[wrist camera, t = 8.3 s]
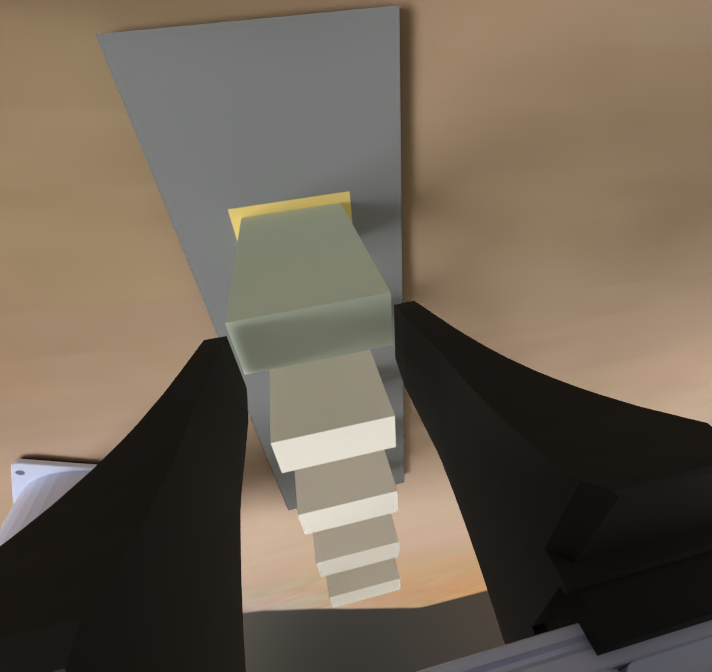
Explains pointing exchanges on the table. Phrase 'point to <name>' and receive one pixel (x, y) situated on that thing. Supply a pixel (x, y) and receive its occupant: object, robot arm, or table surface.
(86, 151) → the table surface
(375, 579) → the domino
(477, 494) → the robot arm
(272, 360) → the domino
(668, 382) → the table surface
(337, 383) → the domino
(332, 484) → the domino
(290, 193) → the domino mat
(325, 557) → the domino
